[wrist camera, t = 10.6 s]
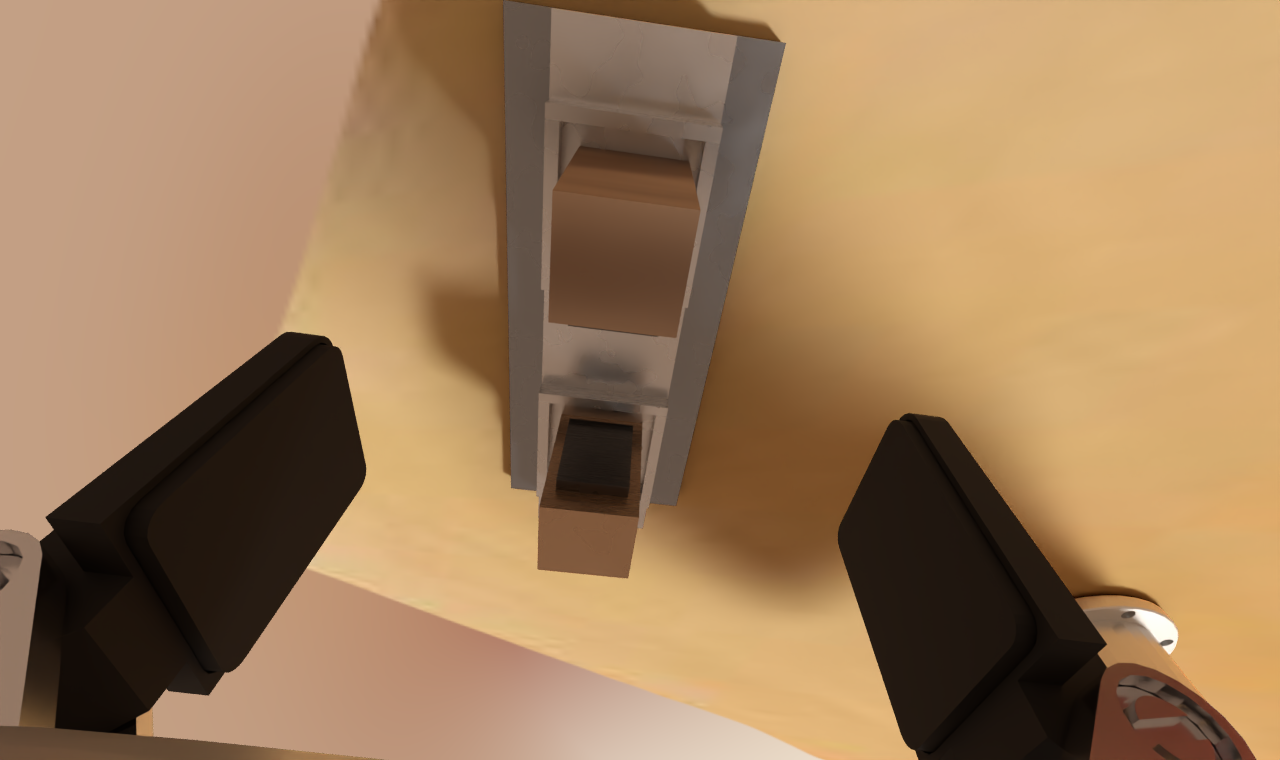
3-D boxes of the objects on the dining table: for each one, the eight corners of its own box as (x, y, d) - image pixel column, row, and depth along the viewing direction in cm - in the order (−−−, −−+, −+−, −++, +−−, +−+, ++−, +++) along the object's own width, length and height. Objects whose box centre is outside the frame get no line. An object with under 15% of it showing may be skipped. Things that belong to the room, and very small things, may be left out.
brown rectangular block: (579, 145, 19) (552, 190, 14) (689, 160, 19) (700, 210, 14) (572, 265, 22) (547, 339, 17) (669, 278, 22) (673, 354, 17)
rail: (675, 495, 33) (680, 631, 26) (514, 478, 32) (473, 611, 25) (781, 42, 20) (855, 56, 12) (508, 0, 19) (417, -11, 12)
